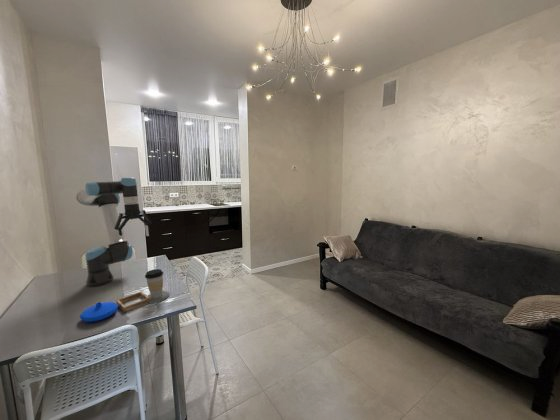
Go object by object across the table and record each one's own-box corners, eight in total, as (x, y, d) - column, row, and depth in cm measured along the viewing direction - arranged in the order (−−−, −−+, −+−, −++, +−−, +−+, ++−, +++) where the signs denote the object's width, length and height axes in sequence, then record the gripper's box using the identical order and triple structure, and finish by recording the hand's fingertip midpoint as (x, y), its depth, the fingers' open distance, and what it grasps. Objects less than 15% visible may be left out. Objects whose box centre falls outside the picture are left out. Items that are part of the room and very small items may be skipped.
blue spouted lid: (99, 307, 135) (97, 295, 134) (125, 308, 134) (124, 296, 132) (72, 325, 120) (69, 311, 119) (101, 326, 118) (99, 312, 117)
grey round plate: (140, 298, 143) (140, 297, 143) (163, 290, 153) (163, 289, 153) (149, 306, 135) (149, 304, 135) (173, 296, 144) (173, 295, 144)
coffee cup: (158, 301, 138) (155, 275, 136) (143, 299, 140) (140, 274, 138) (169, 292, 147) (166, 268, 145) (155, 292, 149) (152, 268, 147)
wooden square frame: (116, 304, 138) (116, 300, 137) (141, 295, 147) (141, 291, 147) (124, 312, 129) (124, 307, 129) (150, 302, 139) (150, 298, 138)
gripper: (108, 206, 136) (114, 243, 140) (155, 201, 155) (159, 234, 158) (104, 205, 141) (110, 241, 144) (150, 201, 160) (154, 233, 163)
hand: (135, 238), depth 151 cm, fingers open, 13 cm apart
